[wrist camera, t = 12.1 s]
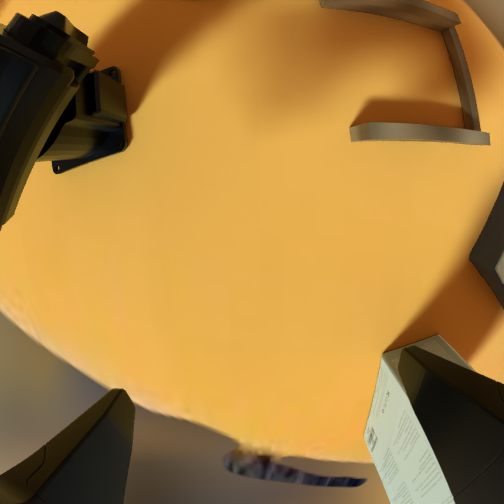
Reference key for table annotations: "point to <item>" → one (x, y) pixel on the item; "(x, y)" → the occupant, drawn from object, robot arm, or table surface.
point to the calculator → (492, 249)
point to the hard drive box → (406, 434)
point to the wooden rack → (432, 16)
